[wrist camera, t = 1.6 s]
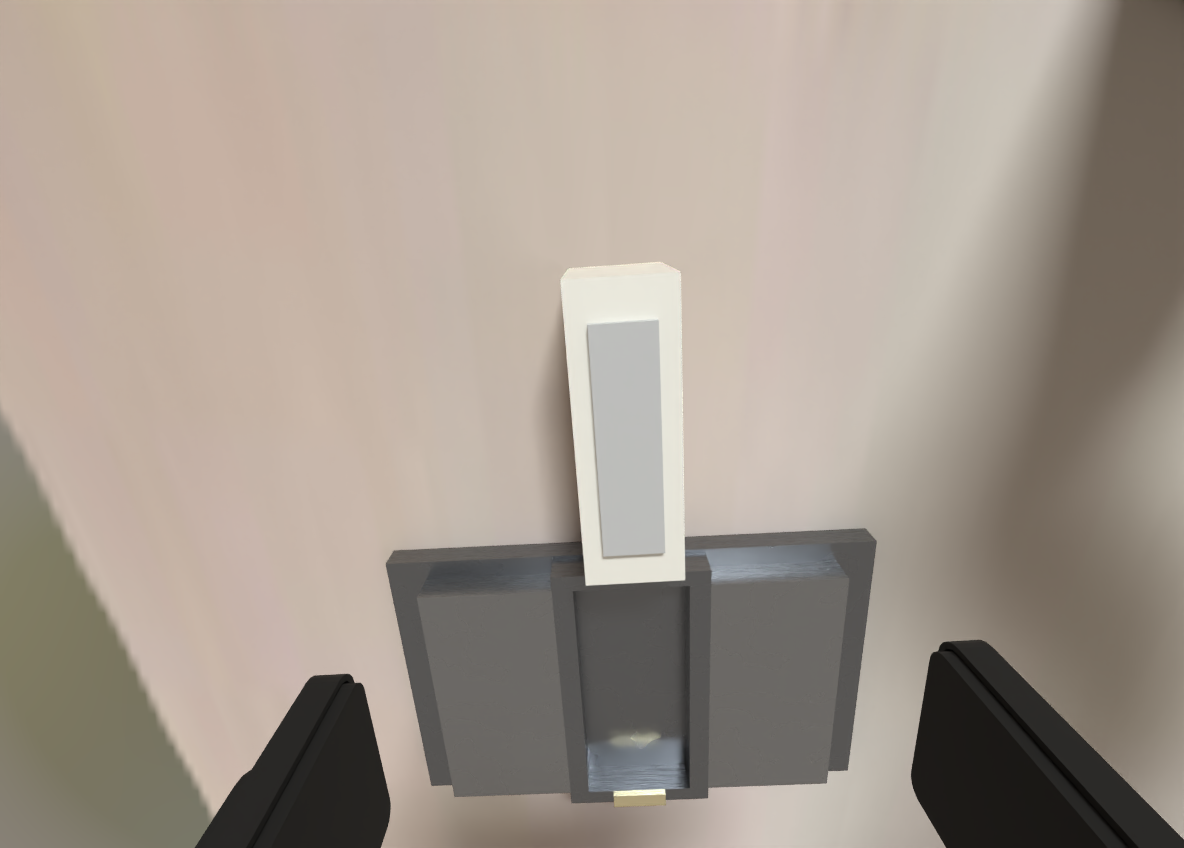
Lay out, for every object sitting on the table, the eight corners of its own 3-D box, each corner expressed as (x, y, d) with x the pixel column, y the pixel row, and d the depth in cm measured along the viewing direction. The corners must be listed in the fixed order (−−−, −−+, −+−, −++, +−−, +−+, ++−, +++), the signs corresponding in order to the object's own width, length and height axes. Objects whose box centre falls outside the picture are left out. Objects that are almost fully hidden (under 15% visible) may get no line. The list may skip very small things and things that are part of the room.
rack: (865, 528, 28) (895, 562, 25) (839, 751, 33) (861, 800, 30) (394, 550, 29) (371, 586, 26) (437, 766, 34) (422, 816, 31)
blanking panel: (660, 261, 24) (682, 272, 18) (666, 509, 28) (686, 584, 22) (568, 268, 24) (559, 280, 18) (587, 513, 28) (585, 590, 22)
